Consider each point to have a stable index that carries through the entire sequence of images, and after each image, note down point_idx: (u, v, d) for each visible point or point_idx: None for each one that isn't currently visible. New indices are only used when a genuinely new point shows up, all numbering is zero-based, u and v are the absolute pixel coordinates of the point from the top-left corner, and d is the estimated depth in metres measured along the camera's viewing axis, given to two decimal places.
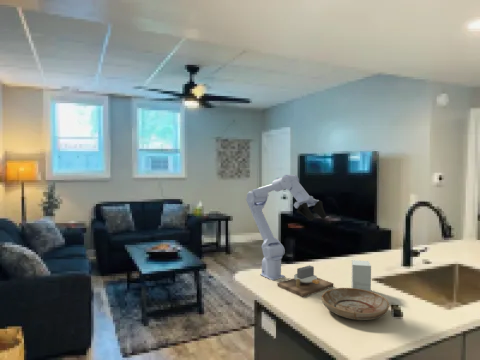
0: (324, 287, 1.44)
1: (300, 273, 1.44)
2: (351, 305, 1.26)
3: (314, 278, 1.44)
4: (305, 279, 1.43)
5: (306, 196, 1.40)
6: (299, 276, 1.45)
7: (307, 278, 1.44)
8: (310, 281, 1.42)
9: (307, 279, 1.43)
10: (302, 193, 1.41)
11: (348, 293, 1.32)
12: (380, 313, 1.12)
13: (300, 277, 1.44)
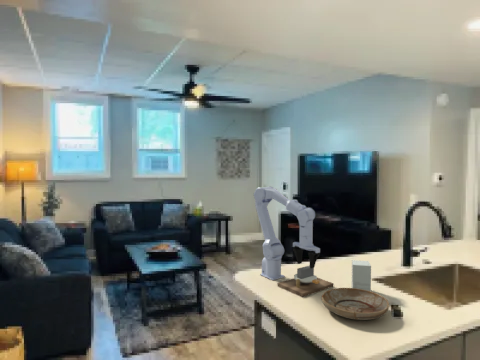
0: (324, 287, 1.44)
1: (300, 273, 1.44)
2: (351, 305, 1.26)
3: (314, 278, 1.44)
4: (305, 279, 1.43)
5: None
6: (299, 276, 1.45)
7: (307, 278, 1.44)
8: (310, 281, 1.42)
9: (307, 279, 1.43)
10: None
11: (348, 293, 1.32)
12: (380, 313, 1.12)
13: (300, 277, 1.44)
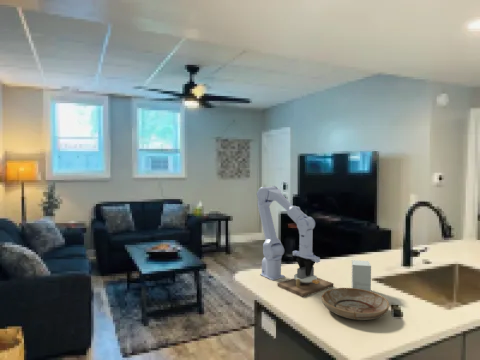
0: (324, 287, 1.44)
1: (300, 273, 1.44)
2: (351, 305, 1.26)
3: (314, 278, 1.44)
4: (305, 279, 1.43)
5: None
6: (299, 276, 1.45)
7: (307, 278, 1.44)
8: (310, 281, 1.42)
9: (307, 279, 1.43)
10: None
11: (348, 293, 1.32)
12: (380, 313, 1.12)
13: (300, 277, 1.44)
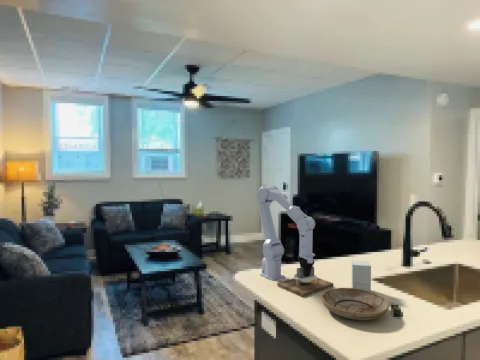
0: (324, 287, 1.44)
1: (299, 273, 1.44)
2: (351, 305, 1.26)
3: (314, 278, 1.44)
4: (304, 279, 1.43)
5: None
6: (298, 276, 1.45)
7: (306, 278, 1.44)
8: (309, 281, 1.42)
9: (306, 279, 1.43)
10: None
11: (348, 293, 1.32)
12: (380, 313, 1.12)
13: (299, 277, 1.44)
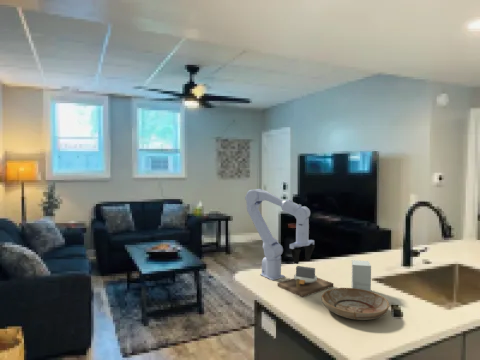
0: (324, 287, 1.44)
1: None
2: (351, 305, 1.26)
3: (306, 279, 1.43)
4: (297, 277, 1.46)
5: (305, 241, 1.49)
6: None
7: (301, 277, 1.45)
8: None
9: (299, 278, 1.45)
10: (303, 236, 1.49)
11: (348, 293, 1.32)
12: (380, 313, 1.12)
13: (296, 274, 1.48)
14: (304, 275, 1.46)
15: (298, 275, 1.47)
